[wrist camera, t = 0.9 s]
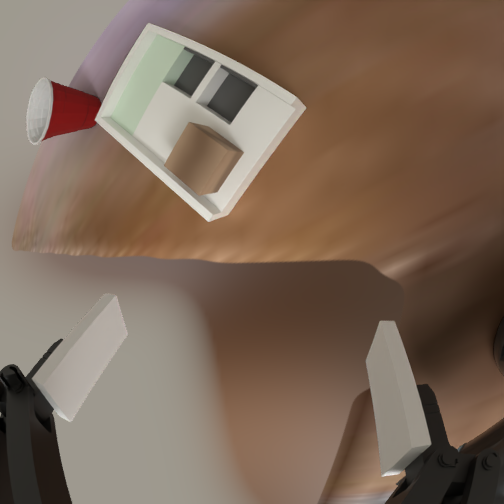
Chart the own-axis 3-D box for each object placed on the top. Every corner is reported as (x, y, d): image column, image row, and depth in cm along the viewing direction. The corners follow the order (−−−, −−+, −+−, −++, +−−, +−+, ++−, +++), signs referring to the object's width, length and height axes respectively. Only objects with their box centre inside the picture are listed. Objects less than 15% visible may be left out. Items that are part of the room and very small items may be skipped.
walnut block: (244, 152, 29) (228, 150, 26) (217, 192, 32) (198, 195, 28) (208, 126, 30) (188, 121, 26) (184, 164, 32) (163, 165, 29)
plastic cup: (71, 109, 41) (19, 107, 31) (103, 72, 37) (47, 62, 26) (82, 154, 43) (27, 159, 32) (116, 119, 38) (55, 115, 27)
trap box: (306, 107, 28) (297, 97, 24) (228, 214, 35) (208, 221, 31) (169, 33, 31) (148, 22, 26) (118, 121, 38) (94, 120, 33)
